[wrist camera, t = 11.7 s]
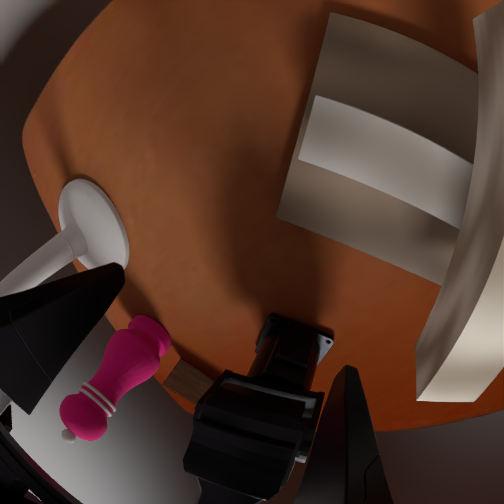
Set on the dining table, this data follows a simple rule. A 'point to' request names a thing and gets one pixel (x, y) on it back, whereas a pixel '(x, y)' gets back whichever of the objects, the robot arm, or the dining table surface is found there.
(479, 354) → the cream beige bar
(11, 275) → the candlestick
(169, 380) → the wood plank
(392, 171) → the ridge stand
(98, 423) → the pepper mill
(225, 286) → the dining table surface
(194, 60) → the dining table surface
